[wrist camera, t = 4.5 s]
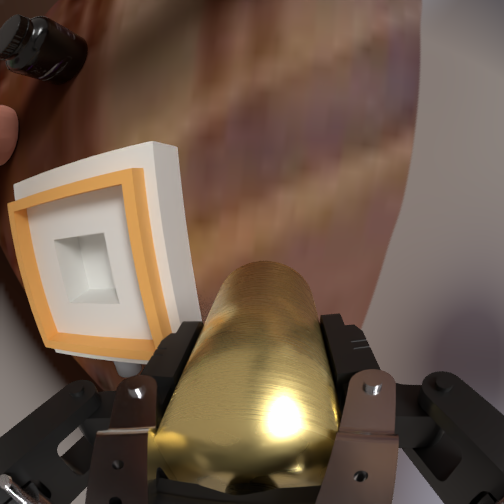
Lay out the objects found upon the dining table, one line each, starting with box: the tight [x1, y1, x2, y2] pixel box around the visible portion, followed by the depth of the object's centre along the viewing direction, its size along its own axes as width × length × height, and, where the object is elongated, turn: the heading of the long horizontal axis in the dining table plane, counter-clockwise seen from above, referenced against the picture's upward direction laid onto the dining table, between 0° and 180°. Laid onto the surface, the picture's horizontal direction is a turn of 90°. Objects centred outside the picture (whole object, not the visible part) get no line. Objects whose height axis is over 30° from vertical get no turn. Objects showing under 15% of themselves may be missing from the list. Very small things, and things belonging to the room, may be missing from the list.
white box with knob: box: [7, 141, 202, 377], centre depth 26 cm, size 23×18×8 cm
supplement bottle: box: [0, 15, 88, 84], centre depth 18 cm, size 7×7×12 cm
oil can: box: [154, 261, 342, 496], centre depth 9 cm, size 5×5×10 cm
